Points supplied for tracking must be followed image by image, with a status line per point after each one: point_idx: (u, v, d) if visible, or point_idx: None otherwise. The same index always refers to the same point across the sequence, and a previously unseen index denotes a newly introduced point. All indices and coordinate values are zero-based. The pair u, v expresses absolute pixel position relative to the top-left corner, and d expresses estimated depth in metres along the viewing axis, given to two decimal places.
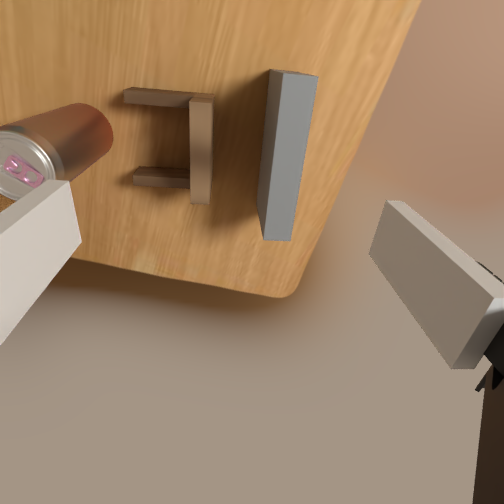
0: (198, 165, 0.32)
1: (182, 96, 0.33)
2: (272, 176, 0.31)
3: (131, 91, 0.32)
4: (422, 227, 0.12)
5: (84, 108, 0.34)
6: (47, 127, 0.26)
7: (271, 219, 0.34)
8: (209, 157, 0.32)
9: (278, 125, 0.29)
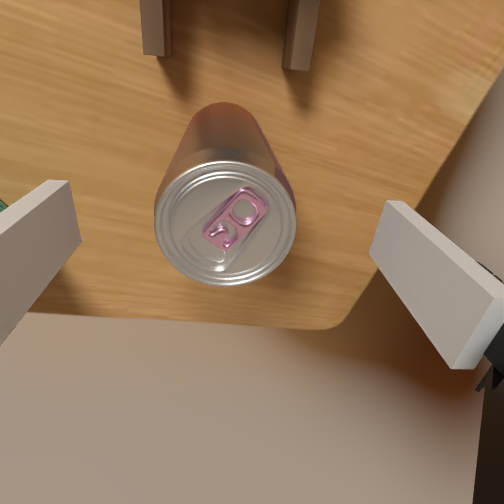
0: None
1: None
2: None
3: (144, 38, 0.18)
4: (422, 227, 0.12)
5: None
6: None
7: None
8: None
9: None
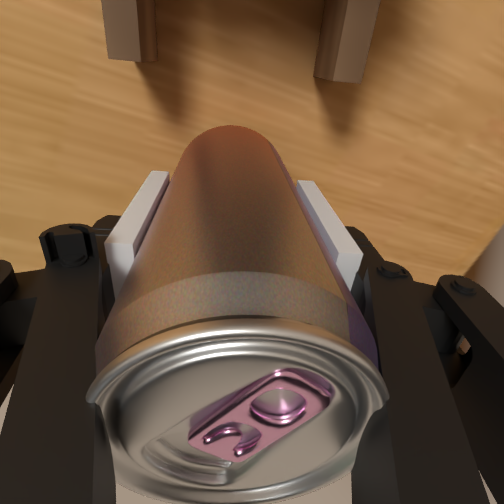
0: None
1: None
2: None
3: (108, 34, 0.12)
4: (315, 201, 0.13)
5: None
6: (128, 273, 0.07)
7: None
8: None
9: None
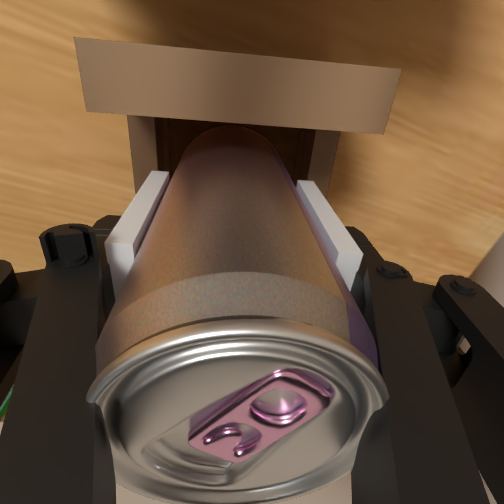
0: (270, 97, 0.10)
1: (130, 124, 0.15)
2: None
3: None
4: (315, 201, 0.13)
5: None
6: (128, 273, 0.07)
7: None
8: (244, 57, 0.10)
9: None
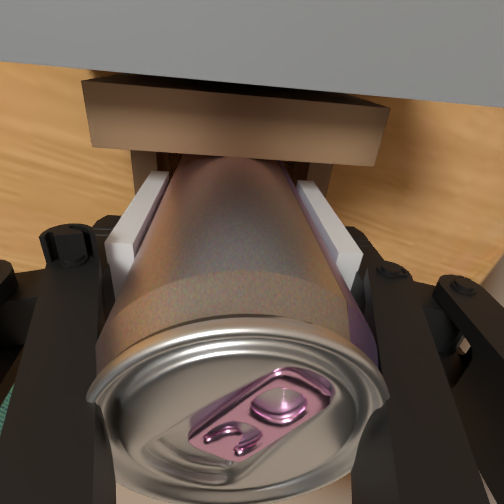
0: (265, 133, 0.11)
1: None
2: (279, 81, 0.09)
3: None
4: (315, 201, 0.13)
5: None
6: (128, 273, 0.07)
7: (446, 78, 0.09)
8: (241, 97, 0.10)
9: (95, 64, 0.08)
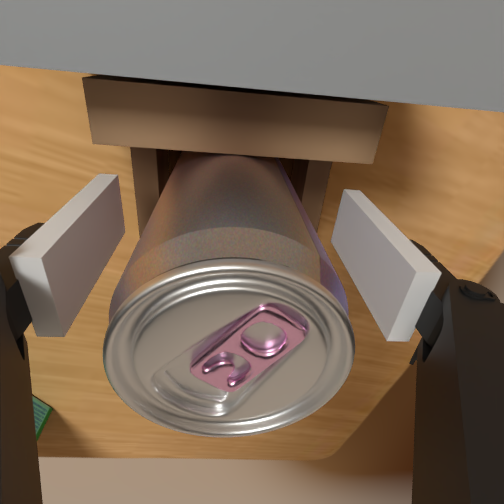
0: (265, 131, 0.11)
1: (132, 146, 0.15)
2: (278, 85, 0.09)
3: None
4: (370, 212, 0.12)
5: None
6: (139, 239, 0.09)
7: (441, 83, 0.09)
8: (241, 95, 0.11)
9: (97, 69, 0.08)
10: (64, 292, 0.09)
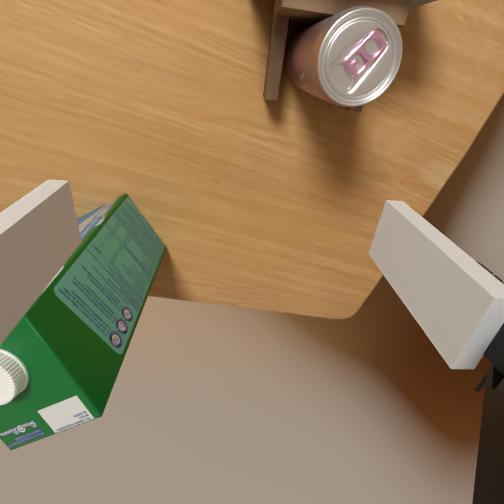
0: (358, 4, 0.25)
1: (275, 29, 0.29)
2: None
3: (267, 90, 0.32)
4: (422, 227, 0.12)
5: (293, 43, 0.31)
6: (316, 30, 0.23)
7: None
8: None
9: None
10: None
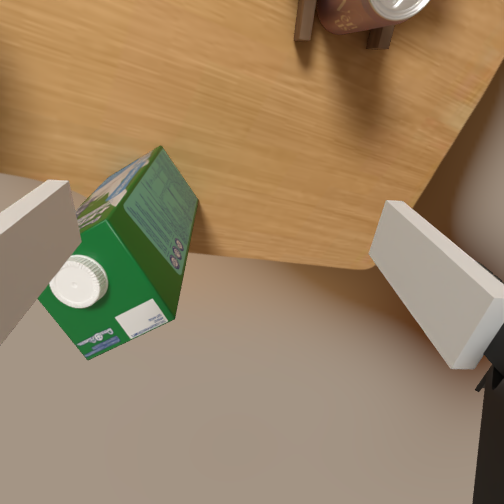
0: None
1: None
2: None
3: (301, 30, 0.34)
4: (422, 227, 0.12)
5: None
6: None
7: None
8: None
9: None
10: None
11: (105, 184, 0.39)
